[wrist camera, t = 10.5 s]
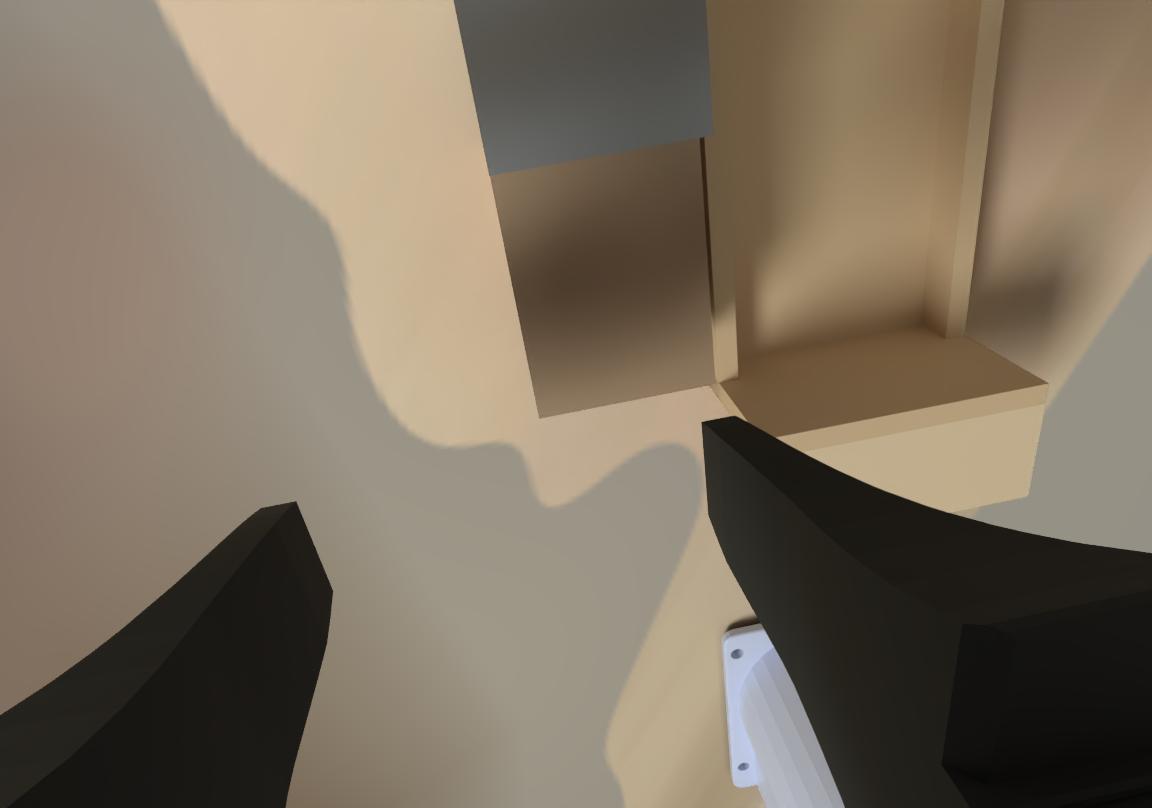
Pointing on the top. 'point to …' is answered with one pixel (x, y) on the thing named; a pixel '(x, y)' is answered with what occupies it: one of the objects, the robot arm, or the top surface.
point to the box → (599, 188)
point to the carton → (861, 242)
